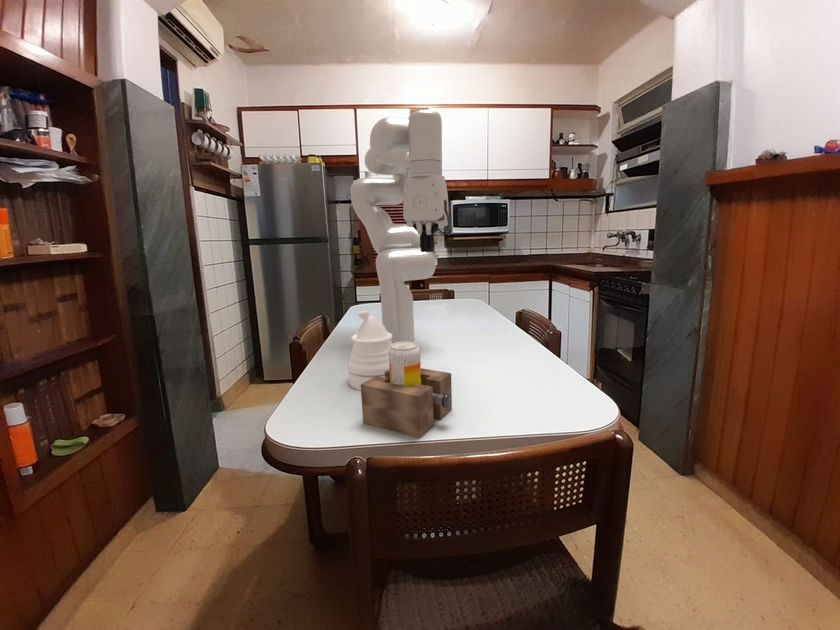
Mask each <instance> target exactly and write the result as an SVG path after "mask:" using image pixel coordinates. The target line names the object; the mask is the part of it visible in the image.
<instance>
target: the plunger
mask: <svg viewBox="0 0 840 630" xmlns="http://www.w3.org/2000/svg"><path fill="white" fill-rule="evenodd" d="M452 401H453V395H452V396H451V395H450V394H444V395H441V394H436V393H434V392H433V403H435V404H439V405H442V406H443V407H444V408H449V407H450V405H451V402H452ZM452 403H453V402H452Z"/></svg>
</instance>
